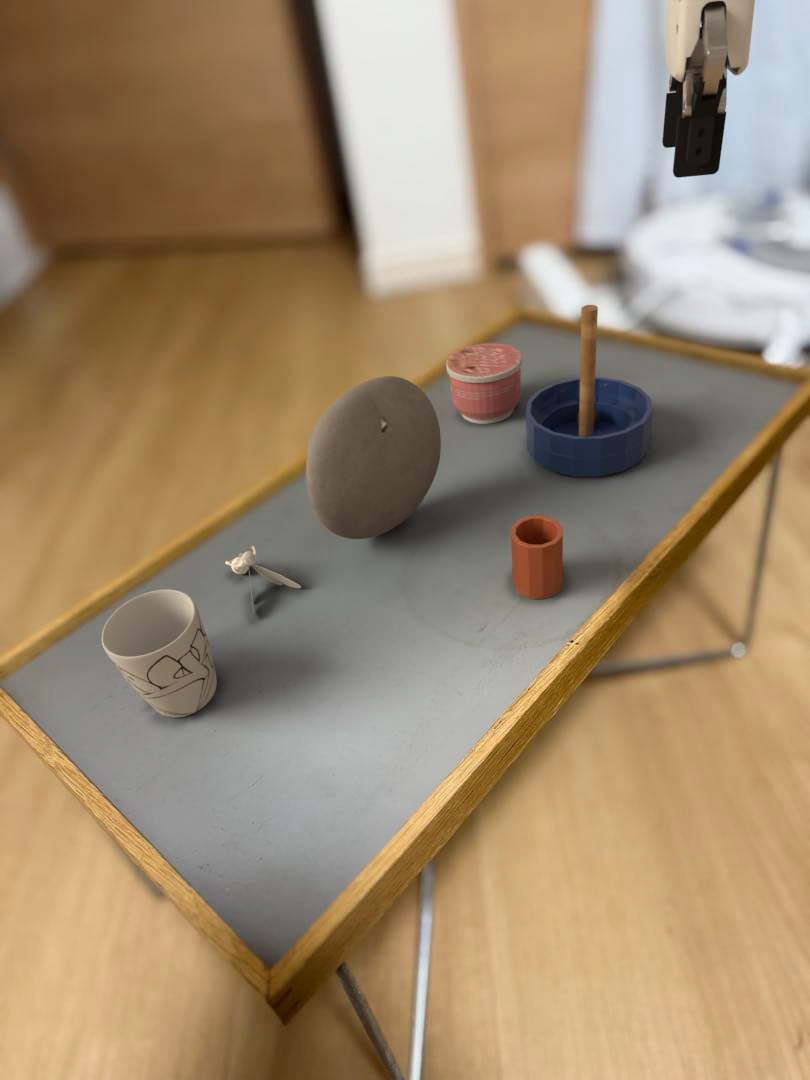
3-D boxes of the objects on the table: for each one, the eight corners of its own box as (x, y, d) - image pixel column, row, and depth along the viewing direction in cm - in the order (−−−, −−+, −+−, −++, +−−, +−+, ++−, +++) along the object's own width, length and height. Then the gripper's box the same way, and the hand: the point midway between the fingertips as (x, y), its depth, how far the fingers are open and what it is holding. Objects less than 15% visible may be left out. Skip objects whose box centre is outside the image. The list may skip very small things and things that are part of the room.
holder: (562, 567, 75) (563, 515, 70) (561, 600, 71) (562, 548, 67) (515, 566, 76) (512, 515, 72) (512, 598, 72) (509, 547, 68)
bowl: (644, 415, 95) (647, 375, 92) (652, 480, 84) (656, 437, 80) (530, 417, 99) (529, 379, 95) (524, 480, 88) (522, 439, 84)
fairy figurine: (254, 546, 83) (267, 533, 77) (285, 596, 83) (301, 587, 77) (209, 572, 80) (219, 561, 74) (242, 623, 81) (254, 617, 74)
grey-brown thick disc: (425, 480, 91) (406, 343, 79) (464, 500, 86) (450, 359, 74) (311, 553, 82) (269, 413, 71) (347, 579, 78) (310, 435, 66)
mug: (126, 668, 72) (85, 599, 66) (203, 629, 75) (170, 560, 69) (156, 744, 64) (112, 674, 58) (241, 698, 67) (208, 626, 61)
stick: (592, 438, 92) (597, 304, 80) (592, 446, 90) (597, 310, 79) (578, 438, 92) (581, 305, 81) (578, 446, 91) (581, 311, 79)
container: (477, 387, 108) (473, 338, 103) (537, 401, 102) (536, 349, 97) (437, 419, 102) (431, 369, 97) (498, 435, 96) (495, 383, 91)
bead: (599, 426, 91) (598, 433, 94) (601, 403, 91) (601, 411, 94) (575, 424, 92) (575, 431, 95) (577, 402, 92) (578, 410, 95)
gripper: (813, -154, 39) (758, 183, 49) (756, -133, 51) (722, 131, 62) (669, -126, 40) (646, 193, 51) (649, -113, 53) (633, 140, 64)
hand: (688, 159), depth 57 cm, fingers open, 9 cm apart
